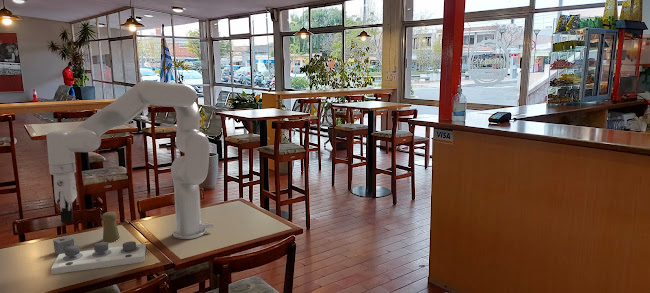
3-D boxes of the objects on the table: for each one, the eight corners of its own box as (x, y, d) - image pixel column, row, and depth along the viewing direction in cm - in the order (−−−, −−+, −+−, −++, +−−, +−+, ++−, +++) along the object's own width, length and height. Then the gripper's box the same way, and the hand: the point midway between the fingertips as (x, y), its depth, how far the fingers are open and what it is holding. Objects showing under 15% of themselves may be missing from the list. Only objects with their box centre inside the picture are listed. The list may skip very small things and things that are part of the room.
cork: (113, 243, 171) (110, 215, 169) (99, 241, 172) (96, 214, 170) (123, 237, 177) (120, 210, 175) (109, 236, 178) (107, 209, 176)
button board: (145, 248, 166) (145, 242, 165) (144, 261, 155) (143, 255, 154) (59, 259, 157) (59, 253, 156) (51, 274, 145) (50, 267, 145)
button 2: (136, 246, 162) (136, 240, 162) (136, 250, 158) (135, 245, 158) (123, 247, 161) (123, 242, 160) (122, 252, 157) (121, 246, 156)
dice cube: (54, 252, 162) (53, 239, 162) (69, 248, 166) (68, 235, 165) (60, 256, 159) (58, 243, 158) (75, 252, 163) (73, 239, 162)
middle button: (109, 246, 159) (108, 241, 159) (107, 251, 155) (107, 245, 155) (95, 248, 158) (94, 242, 157) (93, 253, 154) (93, 247, 153)
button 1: (80, 250, 156) (80, 244, 156) (78, 254, 152) (77, 249, 152) (66, 251, 155) (65, 246, 154) (63, 256, 151) (63, 251, 150)
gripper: (71, 172, 142) (75, 227, 145) (79, 163, 156) (83, 213, 159) (44, 174, 140) (49, 230, 143) (55, 164, 154) (59, 215, 157)
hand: (67, 221), depth 151 cm, fingers closed
